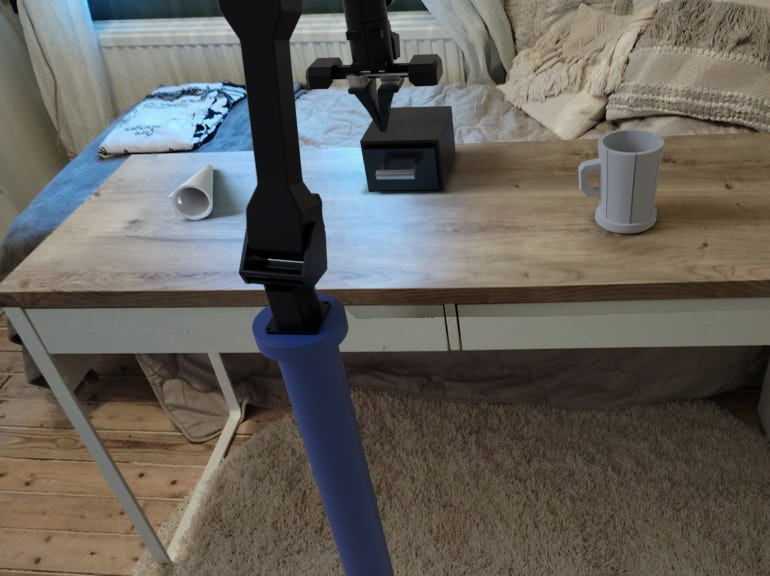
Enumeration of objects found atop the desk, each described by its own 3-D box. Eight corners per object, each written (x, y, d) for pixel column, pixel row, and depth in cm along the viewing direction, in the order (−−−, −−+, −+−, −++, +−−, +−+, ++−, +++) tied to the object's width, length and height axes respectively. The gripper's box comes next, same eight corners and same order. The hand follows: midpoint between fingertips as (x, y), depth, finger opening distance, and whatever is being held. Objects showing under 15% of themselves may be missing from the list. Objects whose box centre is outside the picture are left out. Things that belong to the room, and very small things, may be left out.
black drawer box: (444, 190, 115) (438, 139, 109) (368, 191, 116) (359, 141, 111) (455, 153, 126) (451, 105, 120) (386, 155, 127) (379, 107, 122)
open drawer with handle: (434, 201, 110) (429, 160, 106) (363, 202, 111) (356, 161, 107) (450, 154, 123) (446, 116, 119) (386, 155, 125) (380, 117, 120)
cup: (616, 246, 98) (621, 164, 90) (572, 222, 104) (574, 143, 96) (669, 221, 102) (678, 141, 95) (624, 200, 108) (630, 123, 101)
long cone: (245, 176, 128) (218, 216, 112) (211, 182, 128) (179, 223, 112) (234, 145, 125) (204, 181, 109) (199, 151, 125) (164, 188, 109)
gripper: (443, 0, 100) (453, 110, 110) (317, 6, 103) (337, 113, 112) (430, 21, 92) (442, 138, 102) (293, 26, 94) (317, 140, 104)
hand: (383, 131), depth 105 cm, fingers closed
